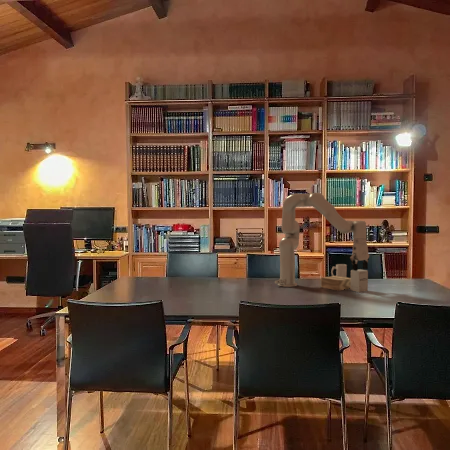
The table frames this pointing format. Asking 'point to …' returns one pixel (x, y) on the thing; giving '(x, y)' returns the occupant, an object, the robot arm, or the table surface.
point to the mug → (340, 270)
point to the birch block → (336, 282)
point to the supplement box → (359, 280)
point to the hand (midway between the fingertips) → (360, 269)
